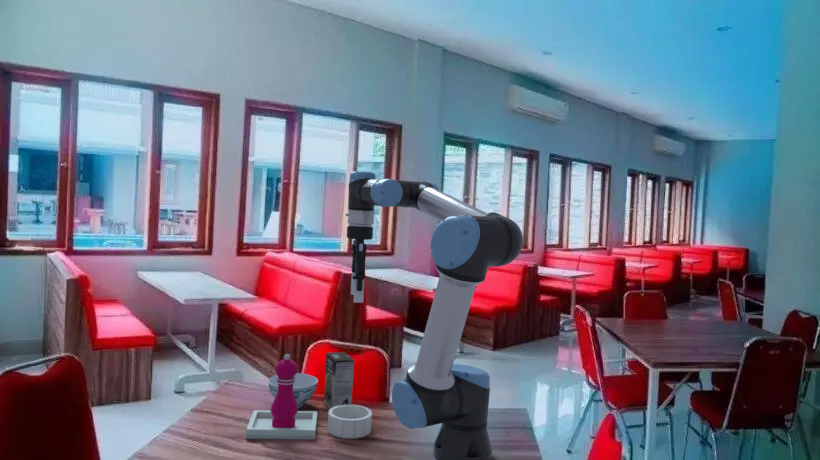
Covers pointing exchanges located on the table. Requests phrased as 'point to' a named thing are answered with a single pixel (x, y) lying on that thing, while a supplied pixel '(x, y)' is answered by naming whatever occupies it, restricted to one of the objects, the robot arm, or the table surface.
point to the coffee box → (338, 379)
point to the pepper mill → (285, 395)
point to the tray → (263, 428)
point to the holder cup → (349, 421)
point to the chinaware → (297, 387)
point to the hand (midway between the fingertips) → (356, 298)
